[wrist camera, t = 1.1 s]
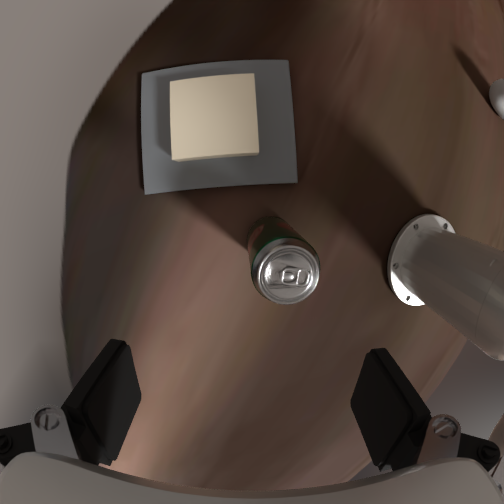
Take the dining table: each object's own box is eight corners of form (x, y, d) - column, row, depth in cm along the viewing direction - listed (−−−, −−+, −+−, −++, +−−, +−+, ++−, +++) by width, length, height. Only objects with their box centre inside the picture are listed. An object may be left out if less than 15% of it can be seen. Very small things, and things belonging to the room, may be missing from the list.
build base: (286, 64, 25) (293, 48, 21) (295, 182, 29) (304, 183, 24) (145, 77, 24) (132, 64, 20) (148, 193, 28) (134, 196, 24)
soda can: (249, 213, 29) (256, 236, 18) (295, 218, 30) (330, 244, 18) (244, 258, 30) (247, 307, 19) (289, 263, 31) (316, 311, 19)
